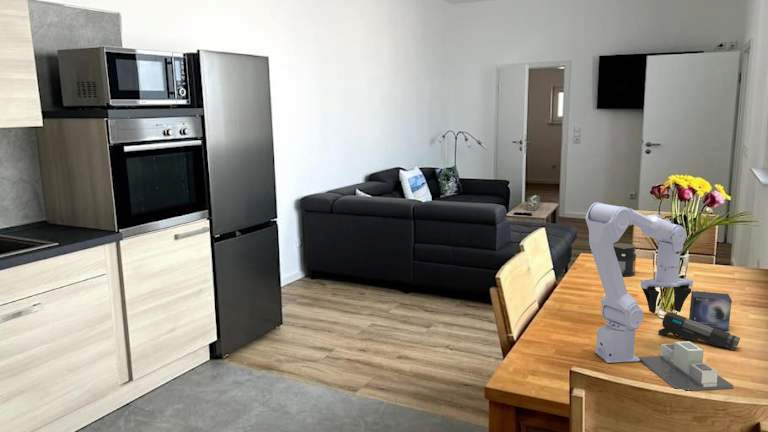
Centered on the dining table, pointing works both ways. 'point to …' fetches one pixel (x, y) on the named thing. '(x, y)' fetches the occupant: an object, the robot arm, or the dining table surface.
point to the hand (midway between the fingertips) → (664, 311)
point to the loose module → (687, 355)
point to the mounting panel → (696, 379)
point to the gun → (697, 331)
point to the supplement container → (626, 258)
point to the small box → (711, 309)
